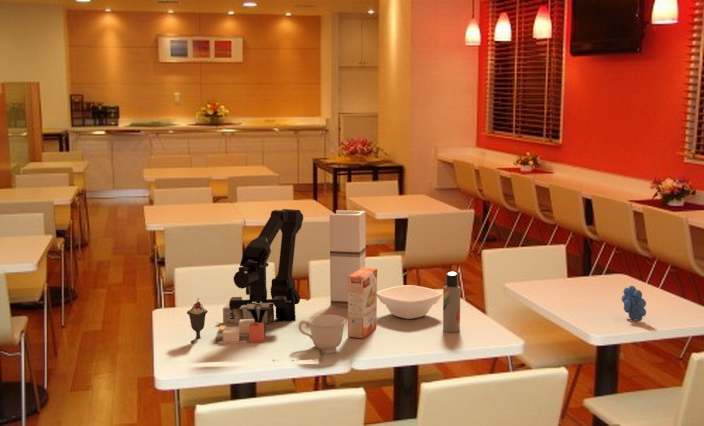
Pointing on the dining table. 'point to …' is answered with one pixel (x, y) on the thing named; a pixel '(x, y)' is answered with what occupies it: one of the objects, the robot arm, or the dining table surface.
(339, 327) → the teacup
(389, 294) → the bowl
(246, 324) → the block
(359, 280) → the cracker box
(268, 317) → the coffee box
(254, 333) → the orange rectangular prism
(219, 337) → the panel
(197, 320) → the sundae
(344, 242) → the white banded column
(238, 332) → the block
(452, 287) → the lotion bottle
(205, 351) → the dining table surface
